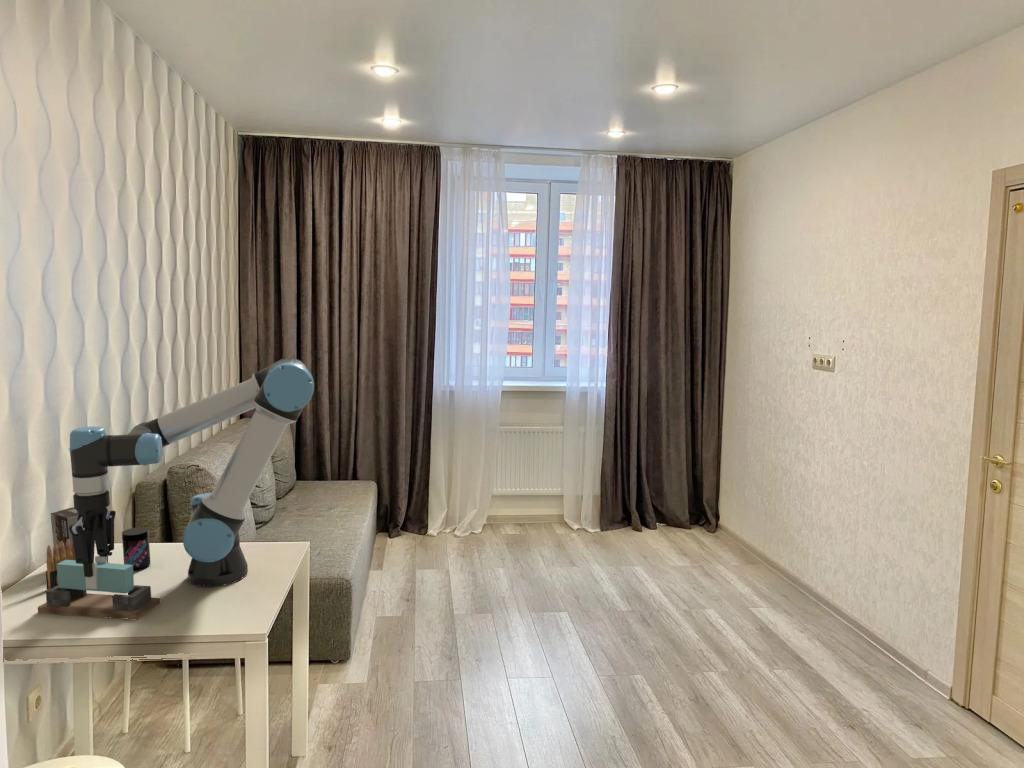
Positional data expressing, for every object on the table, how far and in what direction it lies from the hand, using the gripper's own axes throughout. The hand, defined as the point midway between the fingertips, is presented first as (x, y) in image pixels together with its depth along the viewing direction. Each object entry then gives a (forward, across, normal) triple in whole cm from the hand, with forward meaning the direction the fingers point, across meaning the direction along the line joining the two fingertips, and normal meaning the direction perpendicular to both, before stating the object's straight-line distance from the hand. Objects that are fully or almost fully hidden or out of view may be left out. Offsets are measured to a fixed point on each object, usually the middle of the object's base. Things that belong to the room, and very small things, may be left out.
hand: (97, 585), depth 180 cm
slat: (+1, 0, 0) cm, 1 cm away
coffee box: (+6, -23, -25) cm, 34 cm away
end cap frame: (+6, 0, 0) cm, 6 cm away
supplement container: (+6, -26, -8) cm, 28 cm away
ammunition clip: (+6, -13, -19) cm, 24 cm away
